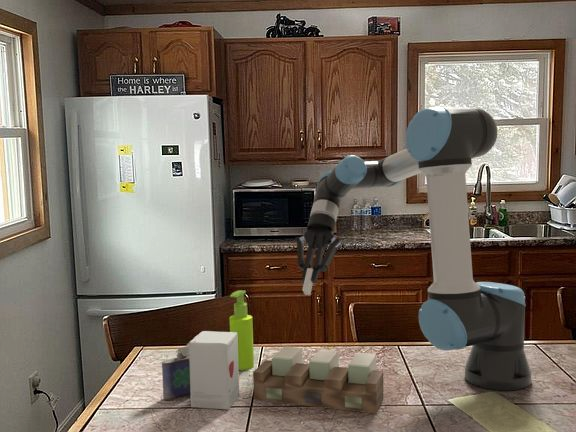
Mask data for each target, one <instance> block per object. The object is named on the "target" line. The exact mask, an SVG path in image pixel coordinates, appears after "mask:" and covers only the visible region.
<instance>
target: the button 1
mask: <svg viewBox="0 0 576 432" xmlns="http://www.w3.org/2000/svg"><path fill="white" fill-rule="evenodd" d="M303 357H304V356H303V347H298V346H297V347H296V346H286V345H285V346H283V347H282V348H281V349H280V350H279V351H278V352H277V353H276V354H275V355H274V356H273V357H271V361H272V375H276V376H285V375H286V374H287V373H288V372H289V370H290V369H291V368H292V367H293V366H294V365H295V364H296V363H301V364H304V362H303Z"/></svg>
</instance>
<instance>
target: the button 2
mask: <svg viewBox="0 0 576 432" xmlns="http://www.w3.org/2000/svg"><path fill="white" fill-rule="evenodd" d="M347 368H348V383H356V384H365V383H366V381H367V379H368V378H369V376H370V374H371V372H372V371H373V370H377V354H376V353H368V352H356V353H355V355H354V356H353V358H352V359H351V361H350V362H349V363H348V366H347Z"/></svg>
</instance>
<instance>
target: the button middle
mask: <svg viewBox="0 0 576 432" xmlns="http://www.w3.org/2000/svg"><path fill="white" fill-rule="evenodd" d="M339 355H340V353H339V350H334V349H333V350H331V349H321V348H320V349H319V350H318V351H317V352H316V354H314V356H313V357H312V358H311V359H310V361H308V362H309V363H308V364H309V370H310V379H316V380H324V379H325V378H326V376H327V375H328V374H329V372H330V371H331V370H332V368H333V367H340V364H339V363H340V362H339Z"/></svg>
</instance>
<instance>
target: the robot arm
mask: <svg viewBox="0 0 576 432" xmlns="http://www.w3.org/2000/svg"><path fill="white" fill-rule="evenodd" d="M497 139H498V125H497V124H496V121H495V120H494V118H493V116H492V115H491V114H489V112H487V111H486V110H484V109H482V108H478V107H475V106H474V107H469V106H468V107H463V106H462V107H461V106H459V107H458V106H457V107H456V106H433V107H425V108H423V109H421V110H419V111H418V112H416V114H414V116H413V117H412V119H411V120H410V121H409V122H408V126H407V128H406V132H405V146H406V148H404V149H403V150H400V151H398V152H396V153H393V154H391V155H388V156H387V157H384V158H382V159H379V160H370V161H369V160H363V159H362V158H361V157H359V156H356V155H354V154H351V155H346V156H345V157H344V158H343V159H342V160H341V161H339V162H338V163H337V164H336V165H335V167H334V168H333V169H332V170H331V171H327V172H324V173H321V175H320V177H319V179H318V182H317V185H316V190H315V195H314V199H313V203H312V207H311V210H310V214H309V218H308V222H307V223H308V224H307V227H306V231H305V232H304V233H303V236H300V237H299V236H296V237H295V238H294V241H295V243H296V247H297V249H296V251H297V266H298V268H299V271H301V272H302V274H301V275H302V276H301V280H302V282H303V285H302V292H303V294H304V295H306V296H311V293H312V288H313V284H316V283H317V282H318V278H319V274H320V273H321V272H323V273H325V272H326V271H327V270H328V268H329V266H330V264H331V262H332V260H333V257H334V256H335V254H336V252H337V250H338V249H340V247H341V246H342V243H341V240H340V238H339V237H337V238H336V237H335V235H334V234H335V228H336V222H337V220H338V215H339V210H340V206H341V202H342V199H344V197H345V196H347V195H348V194H349V192H351V191H352V190H354V189H368V188H381V187H382V188H383V187H385V188H386V187H387V188H389V187H394V186H398V185H400V184H401V183H402V181H404V180H405V179H408V178H411V177H413V176H417V175H419V174H423V175H424V176H425V177H426V179H425V180H426V193H427V205H428V218H429V219H428V220H429V231H430V232H429V233H430V234H429V235H430V246H431V247H430V248H431V261H432V273H433V274H432V277H433V282H432V283H431V284H430V286H429V287H428V288H427V300H426V301H424V302H423V303H422V304H421V307H420V308H419V310H418V324H419V326H420V327H419V328H420V330H421V333H423V336H424V337H425V339H427V340H428V343H430V344H431V345H432V346H434V347H435V348H436V349H438V350H441V351H444V352H445V351H453V350H461V349H464V348H467V347H471V346H472V347H471V349H470V352H469V355H468V358H467V361H466V363H465V366H464V378H465V380H466V381H467V382H468V383H471V384H472V385H475V386H477V387H479V388H483V389H488V390H495V391H517V390H522V389H526V388H527V387H530V385H531V384H532V371H531V367H530V365H529V361H528V357H527V355H526V353H525V318H526V317H525V316H526V315H525V314H526V313H525V312H526V306H527V305H526V299H525V292H524V290H523V289H522V288H521V287H518V286H516V285H512V284H507V283H501V282H500V283H499V282H492V281H477V282H475V280H474V276H473V265H472V264H473V261H472V251H471V250H472V248H471V235H470V222H469V221H470V219H469V208H468V207H469V206H468V191H467V190H468V189H467V178H466V173H467V172H468V170H470V168H471V167H472V166H473V164H472V163H473V162H472V160H473V159H475V158H479V157H482V156H485V155H486V154H487V153H489V152H490V151H491V150H492V149H493V147H494V146H495V144H496V142H497ZM305 242H306V243H307V247H308V248H307V251H306V256H304V255H305V253H304V250H305V249H304V246H305ZM328 246H329V247H328ZM327 247H328V249H327V250H326V248H327ZM325 250H326V253H325ZM314 257H315V258H314ZM304 258H305V259H304Z"/></svg>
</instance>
